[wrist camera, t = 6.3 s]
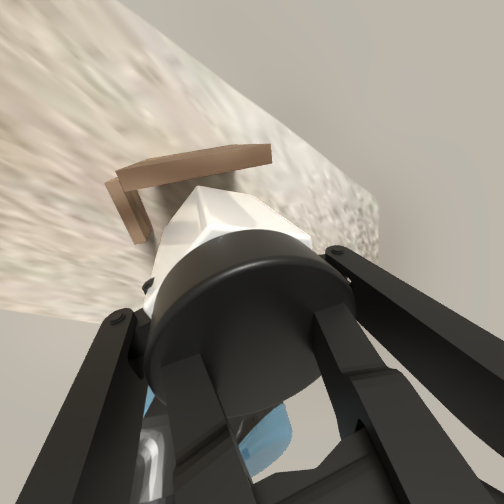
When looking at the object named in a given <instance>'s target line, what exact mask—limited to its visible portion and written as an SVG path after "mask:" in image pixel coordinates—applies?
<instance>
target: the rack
mask: <svg viewBox="0 0 504 504" xmlns="http://www.w3.org/2000/svg"><path fill="white" fill-rule="evenodd" d="M271 163H272V155H271V144H244V145H228V146H222V147H216V148H210V149H204V150H198V151H192V152H186V153H180V154H174V155H169V156H163V157H157V158H151V159H147V160H144V161H141V162H138V163H136V164H133V165H130V166H128V167H125V168H122V169H119V170H117V171H115V172H116V174H117V176H118V177H116V178H114V179H112V180H110V181H108V182H106V183H105V185H106V187H107V189H108V191H109V194H110V196H111V198H112V200H113V202H114V204H115V206H116V208H117V210H118V212H119V214H120V216H121V218H122V220H123V222H124V224H125V226H126V228H127V230H128V232H129V234H130V236H131V238H132V240H133V242H134V244H140V243H144V242H147V239H148V236H149V234H150V231H151V229H152V225H151V222H150V220H149V218H148V215H147V213H146V211H145V208H144V206H143V203H142V201H141V199H140V196H139V194H138V192H137V189H142V188H148V187H153V186H158V185H163V184H168V183H173V182H178V181H184V180H189V179H194V178H199V177H204V176H209V175H215V174H220V173H225V172H230V171H235V170H240V169H245V168H251V167H256V166H261V165H266V164H271Z"/></svg>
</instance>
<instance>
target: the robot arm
mask: <svg viewBox="0 0 504 504" xmlns="http://www.w3.org/2000/svg"><path fill="white" fill-rule="evenodd" d="M319 256H320V257H321V258H322V259H324V260H325V261H326V262H327V263H329V264H330V265H331V266H332V267H334V268H335V269H336V270H337V271H338V272H340V273H341V274H342V275H343V277H344V278H345V279H346V280H347V278H349V279H350V280H351V282H349V281H348V280H347V282H348V283H349V285H350V287H351V289H352V291H353V294H354V298H355V304H356V318H354V317H353V315H352V314H351V312H350V311H349V309H348V308H347V306H346V305H345V303H341V304H338V305H335V306H333V307H330V308H327V309H324V310H321V311H318V312H316V313H314V356H315V359H316V362H317V364H318V367H319V370H320V373H321V375H322V378H323V381H324V384H325V386H326V389H327V392H328V395H329V398H330V400H331V403H332V406H333V409H334V412H335V414H336V418H337V423H338V429H339V433H340V437H341V441H340V442H339V444H338V445H337V446H336V447H335V448H334V449H333V451H332V452H331V453H330V454H329V455H328V456H327V457H326V458H325V459H324V461H323V462H322V463H321V464H320V465H319V466H318V467H317V468H315V469H310V470H300V471H289V472H279V473H274V474H272V475H270V476H268V477H267V478H265V479H263V480H261V481H259V482H257V483H255V484H253V482H252V479H251V477H253V476H255V475H256V474H258V473H259V472H261V471H263V470H264V469H265V468H267V467H268V466H269V465H271V464H272V463H273V462H274V461H275V460H276V459H278V457H280V456H281V455H282V454H283V452H284V451H285V450H286V448H287V447H288V445H289V444H290V441H291V438H292V428H291V424H290V421H289V418H288V414H287V412H286V407H285V404H284V403H283V401H282V402H280V403H278V404H276V405H274V406H271V407H269V408H266V409H263V410H260V411H257V412H254V413H250V414H246V415H242V416H236V417H229V418H227V417H226V414H225V411H224V409H223V406H222V404H221V401H220V399H219V396H218V394H217V391H216V389H215V387H214V384H213V382H212V380H211V378H210V375H209V373H208V371H207V369H206V366H205V364H204V362H203V359H202V357H201V355H200V354H197V355H194V356H191V357H188V358H186V359H183V360H180V361H177V362H174V363H171V364H169V365H166V366H163V367H160V369H161V375H162V381H163V387H164V393H165V399H166V404H167V406H166V405H164V404H163V403H162V402H161V401H160V400H159V399H158V398H157V397H156V396H155V395H154V393H153V392H152V390H151V389H150V387H149V385H148V383H147V380H146V377H145V372H144V354H145V349H146V343H147V338H148V333H149V328H150V323H151V319H150V317H149V316H148V315H147V314H146V313H145V312H144V310H143V308H141V309H139V310H137V311H135V312H133V311H132V310H131V309H130V308H123V309H119V310H117V311H115V312H113V313H111V314H110V315H109V316H108V317H106V318H105V319H104V321H103V322H102V324H101V326H100V328H99V330H98V333H97V335H96V337H95V339H94V341H93V343H92V345H91V347H90V349H89V351H88V353H87V355H86V357H85V360H84V362H83V364H82V366H81V368H80V370H79V372H78V374H77V376H76V378H75V381H74V383H73V384H72V387H71V389H70V391H69V393H68V395H67V397H66V399H65V401H64V403H63V405H62V407H61V409H60V412H59V414H58V416H57V418H56V420H55V422H54V424H53V426H52V428H51V430H50V432H49V435H48V437H47V439H46V441H45V443H44V445H43V447H42V449H41V451H40V453H39V455H38V458H37V460H36V462H35V464H34V466H33V468H32V470H31V472H30V474H29V476H28V478H27V480H26V483H25V485H24V487H23V489H22V491H21V493H20V495H19V497H18V499H17V501H16V503H15V504H504V493H502V492H501V491H499V490H497V489H496V488H494V487H492V486H490V485H489V484H487V483H485V482H484V481H482V480H480V479H479V478H478V477H477V476H476V474H475V473H474V472H473V470H472V469H471V467H470V466H469V465H468V464H467V462H466V461H465V459H464V458H463V456H462V455H461V453H460V452H459V451H458V449H457V448H456V447H455V445H454V444H453V442H452V441H451V440H450V438H449V437H448V435H447V434H446V432H445V431H444V430H443V428H442V427H441V425H440V424H439V423H438V421H437V420H436V418H435V417H434V416H433V414H432V413H431V411H430V410H429V409H428V407H427V406H426V405H425V403H424V402H423V400H422V399H421V398H420V396H419V395H418V393H417V392H416V390H415V389H414V388H413V386H412V385H411V383H410V382H409V381H408V380H407V378H406V377H405V376H404V375H403V374H402V373H401V372H400V371H398V370H397V369H392V368H388V367H387V366H386V364H385V363H384V362H383V360H382V359H381V357H380V356H379V354H378V353H377V351H376V350H375V348H374V347H373V345H372V344H371V342H370V341H369V340H368V338H367V336H366V335H365V333H364V332H363V330H362V329H361V327H360V326H359V324H358V323H357V321H358V322H359V323H360V324H361V325H362V326H363V327H364V328H365V329H366V330H367V331H368V332H369V333H370V334H371V335H372V336H373V337H375V339H376V340H378V342H380V344H382V345H383V346H384V347H385V348H386V349H387V350H388V351H389V352H390V353H391V354H392V355H393V356H394V357H395V358H396V359H397V360H398V361H399V362H400V363H401V364H402V365H403V366H404V367H405V368H406V369H407V370H408V371H409V372H410V373H411V374H412V375H413V376H414V377H415V378H416V379H418V380H419V382H421V384H423V385H424V386H425V387H426V388H427V389H428V390H429V391H430V392H431V393H432V394H433V395H434V396H435V397H436V398H437V399H438V400H439V401H440V402H441V403H442V404H443V405H444V406H445V407H446V408H447V409H448V410H449V411H450V412H451V413H452V414H453V415H454V416H456V417H457V418H458V419H459V420H460V421H461V422H462V423H463V424H464V425H465V426H466V427H468V428H469V429H470V430H471V431H472V432H473V433H474V434H475V435H476V436H478V437H479V438H480V439H481V440H482V441H484V442H485V443H486V444H487V445H488V446H490V447H491V448H492V449H494V450H495V451H496V452H497V453H499V454H500V455H501V456H502V457H504V341H503V340H501V339H499V338H497V337H496V336H494V335H493V334H491V333H489V332H488V331H486V330H484V329H483V328H481V327H479V326H477V325H476V324H474V323H472V322H471V321H469V320H467V319H466V318H464V317H462V316H460V315H459V314H457V313H456V312H454V311H452V310H451V309H449V308H447V307H445V306H444V305H442V304H441V303H439V302H437V301H435V300H434V299H432V298H431V297H429V296H427V295H425V294H424V293H422V292H420V291H419V290H417V289H415V288H414V287H412V286H410V285H409V284H407V283H405V282H404V281H402V280H400V279H399V278H397V277H395V276H394V275H392V274H390V273H389V272H387V271H385V270H383V269H382V268H380V267H378V266H377V265H375V264H373V263H372V262H370V261H368V260H367V259H365V258H363V257H362V256H360V255H358V254H357V253H355V252H353V251H352V250H350V249H348V248H346V247H344V246H340V245H337V246H336V245H334V246H330V247H328V248H326V250H325V254H322V255H319ZM154 278H155V277H153V278H151V279H149V280H148V281H147V282H145V284H144V285H143V287H142V289H143V291H144V293H145V295H146V293H147V291H148V289H149V287H150V288H151V286H152V285H153V282H154ZM151 316H152V315H151ZM355 319H356V320H357V321H356V320H355Z"/></svg>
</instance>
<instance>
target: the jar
mask: <svg viewBox="0 0 504 504" xmlns="http://www.w3.org/2000/svg"><path fill="white" fill-rule="evenodd" d="M153 277H155V278H154V282H153V285H152V286H151V288H150V287H149V289H148V291H147V293H146V296H145V300H144V304H143V310H144V312H145V313H146V314H147V315H148V316H149V317H150V319H151V323H150V328H149V333H148V338H147V343H146V349H145V354H144V372H145V377H146V380H147V383H148V385H149V387H150V389H151V390H152V392H153V393H154V395H155V396H156V397H157V398H158V399H159V400H160V401H161V402H162V403H163V404H164V405H166V406H167V404H166V399H165V393H164V387H163V381H162V375H161V369H160V367H163V366H166V365H169V364H171V363H174V362H177V361H180V360H183V359H186V358H188V357H191V356H194V355H197V354H200V355H201V357H202V359H203V362H204V364H205V366H206V369H207V371H208V373H209V375H210V378H211V380H212V382H213V384H214V387H215V389H216V391H217V394H218V396H219V399H220V401H221V404H222V406H223V409H224V411H225V414H226V417H227V418H229V417H236V416H242V415H246V414H250V413H254V412H257V411H260V410H263V409H266V408H269V407H271V406H274V405H276V404H278V403H280V402H282V401H284V400H286V399H288V398H290V397H292V396H294V395H295V394H297V393H298V392H300V391H302V390H303V389H305V388H306V387H307V386H309V385H310V384H311V383H313V382H314V381H315V380H316V379H318V378H319V377H320V376H321V373H320V370H319V367H318V364H317V362H316V359H315V356H314V313H316V312H318V311H321V310H324V309H327V308H330V307H333V306H335V305H338V304H341V303H345V305H346V306H347V308H348V309H349V311H350V312H351V314H352V315H353V317H354V318H356V304H355V298H354V294H353V291H352V289H351V287H350V285H349V283H348V282H347V280H346V279H345V278H344V277H343V275H342V274H341V273H340V272H338V271H337V270H336V269H335V268H334V267H332V266H331V265H330V264H329V263H327V262H326V261H325V260H324V259H322V258H321V257H320V256H319V255H317V254H316V253H315V252H314V251H313V247H312V240H311V237H310V236H309V235H308V234H307V233H305V232H304V231H302V230H301V229H300V228H298V227H297V226H295V225H294V224H292V223H291V222H290V221H288V220H287V219H285V218H284V217H282V216H281V215H280V214H278V213H277V212H275V211H274V210H273V209H271V208H270V207H268V206H267V205H265V204H264V203H263V202H261V201H260V200H258V199H257V198H255V197H254V196H253V195H249V194H243V193H237V192H232V191H226V190H220V189H215V188H209V187H204V186H196V187H195V189H194V190H193V191H192V193H191V194H190V195H189V197H188V198H187V199H186V201H185V202H184V203H183V205H182V206H181V207H180V209H179V210H178V211H177V213H176V214H175V215H174V216H173V218H172V219H171V220H170V222H169V223H168V224H167V226H166V227H165V228H164V230H163V233H162V237H161V240H160V244H159V248H158V252H157V255H156V259H155V263H154V267H153V270H152V274H151V278H153ZM151 278H150V279H151ZM151 315H152V316H151Z"/></svg>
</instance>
